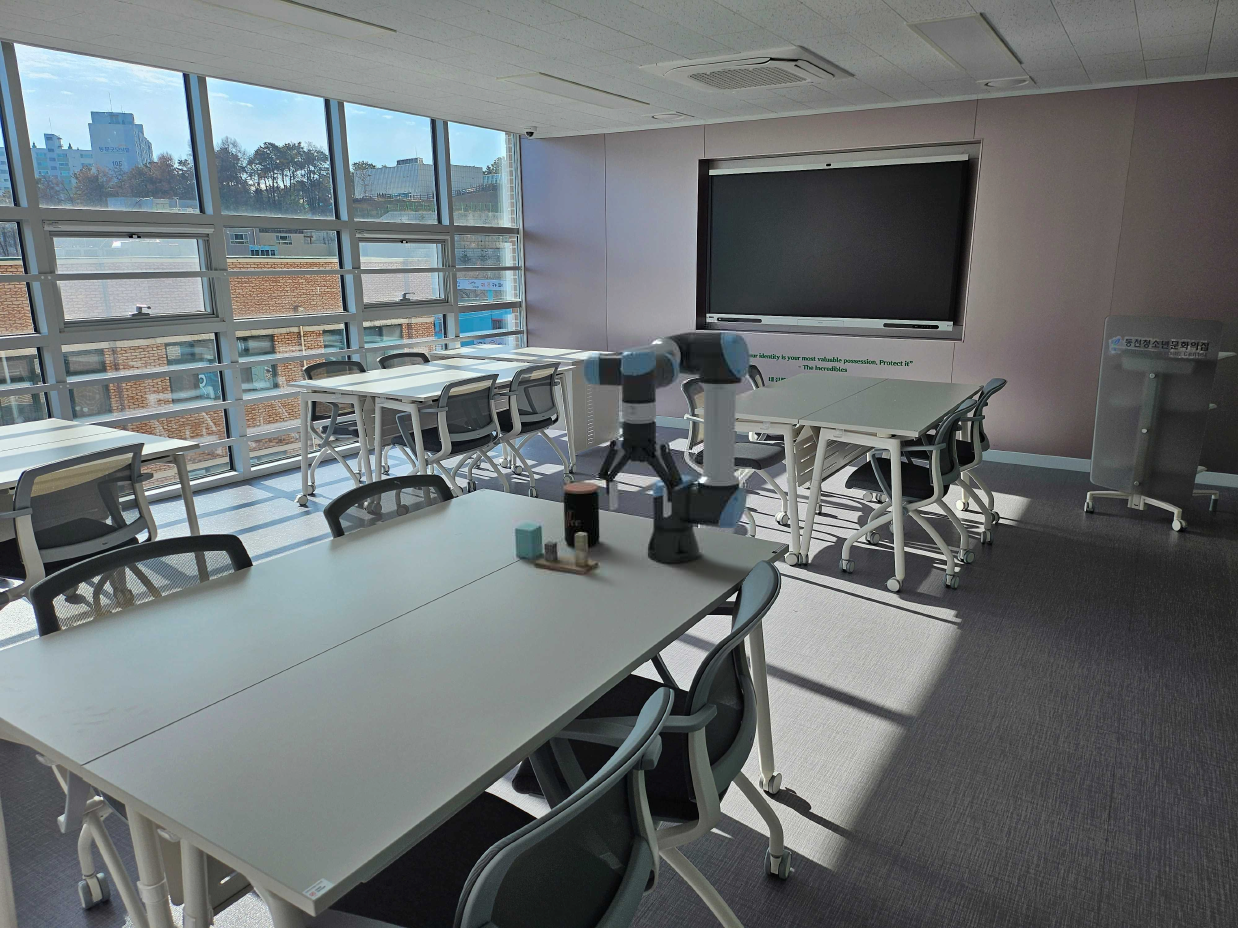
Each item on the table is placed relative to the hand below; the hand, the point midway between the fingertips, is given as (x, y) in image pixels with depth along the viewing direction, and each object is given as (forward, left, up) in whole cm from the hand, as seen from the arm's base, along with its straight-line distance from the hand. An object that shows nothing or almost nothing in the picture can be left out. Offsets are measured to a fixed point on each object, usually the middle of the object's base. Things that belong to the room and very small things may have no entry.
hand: (640, 512), depth 190 cm
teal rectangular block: (-32, -52, -28) cm, 67 cm away
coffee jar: (-48, -43, -28) cm, 70 cm away
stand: (-28, -37, -28) cm, 54 cm away
